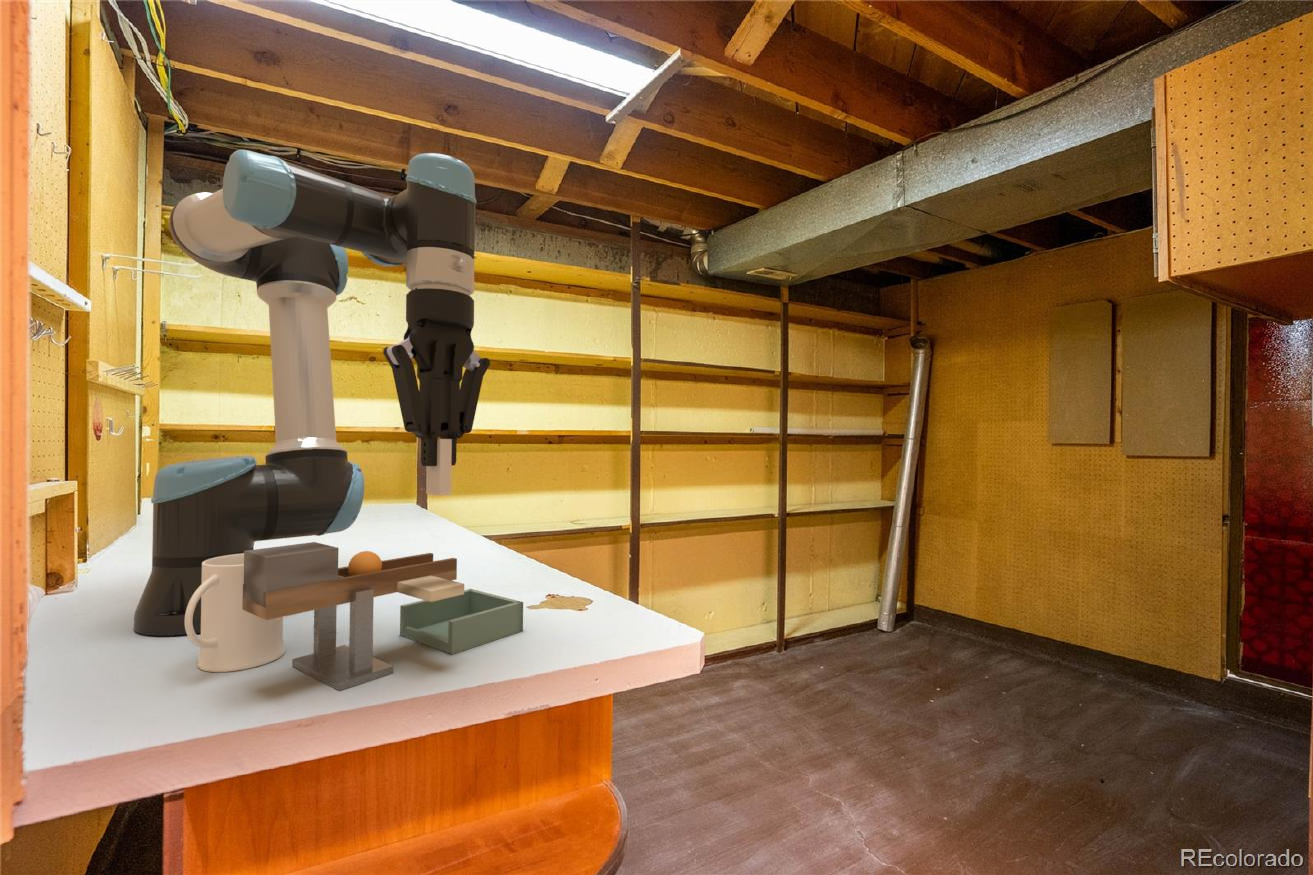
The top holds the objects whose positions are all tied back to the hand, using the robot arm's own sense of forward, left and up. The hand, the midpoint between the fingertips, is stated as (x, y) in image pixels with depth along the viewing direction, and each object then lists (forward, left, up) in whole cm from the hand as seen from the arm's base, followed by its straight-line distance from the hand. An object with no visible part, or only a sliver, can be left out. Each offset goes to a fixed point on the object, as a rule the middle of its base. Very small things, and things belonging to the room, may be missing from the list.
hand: (438, 494), depth 69 cm
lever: (-4, -5, -12) cm, 14 cm away
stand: (-8, -7, -20) cm, 23 cm away
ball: (-8, -5, -9) cm, 12 cm away
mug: (-20, -14, -20) cm, 32 cm away
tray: (-8, +9, -20) cm, 23 cm away
